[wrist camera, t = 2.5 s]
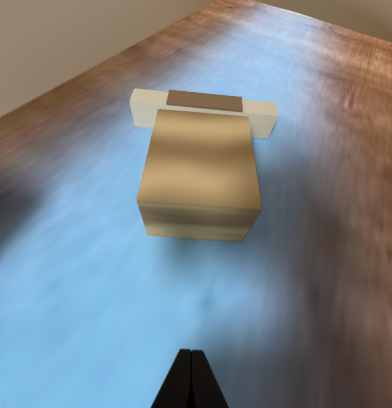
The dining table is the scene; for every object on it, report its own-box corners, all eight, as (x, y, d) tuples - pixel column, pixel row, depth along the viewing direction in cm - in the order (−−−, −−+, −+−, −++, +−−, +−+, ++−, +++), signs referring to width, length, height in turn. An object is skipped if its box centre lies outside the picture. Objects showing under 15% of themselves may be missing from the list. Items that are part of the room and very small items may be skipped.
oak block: (240, 242, 23) (262, 209, 17) (148, 236, 22) (136, 200, 17) (234, 161, 29) (248, 116, 23) (162, 155, 29) (157, 108, 23)
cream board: (267, 139, 32) (279, 113, 28) (134, 126, 31) (128, 99, 28) (265, 126, 33) (276, 100, 30) (139, 113, 33) (134, 86, 29)
